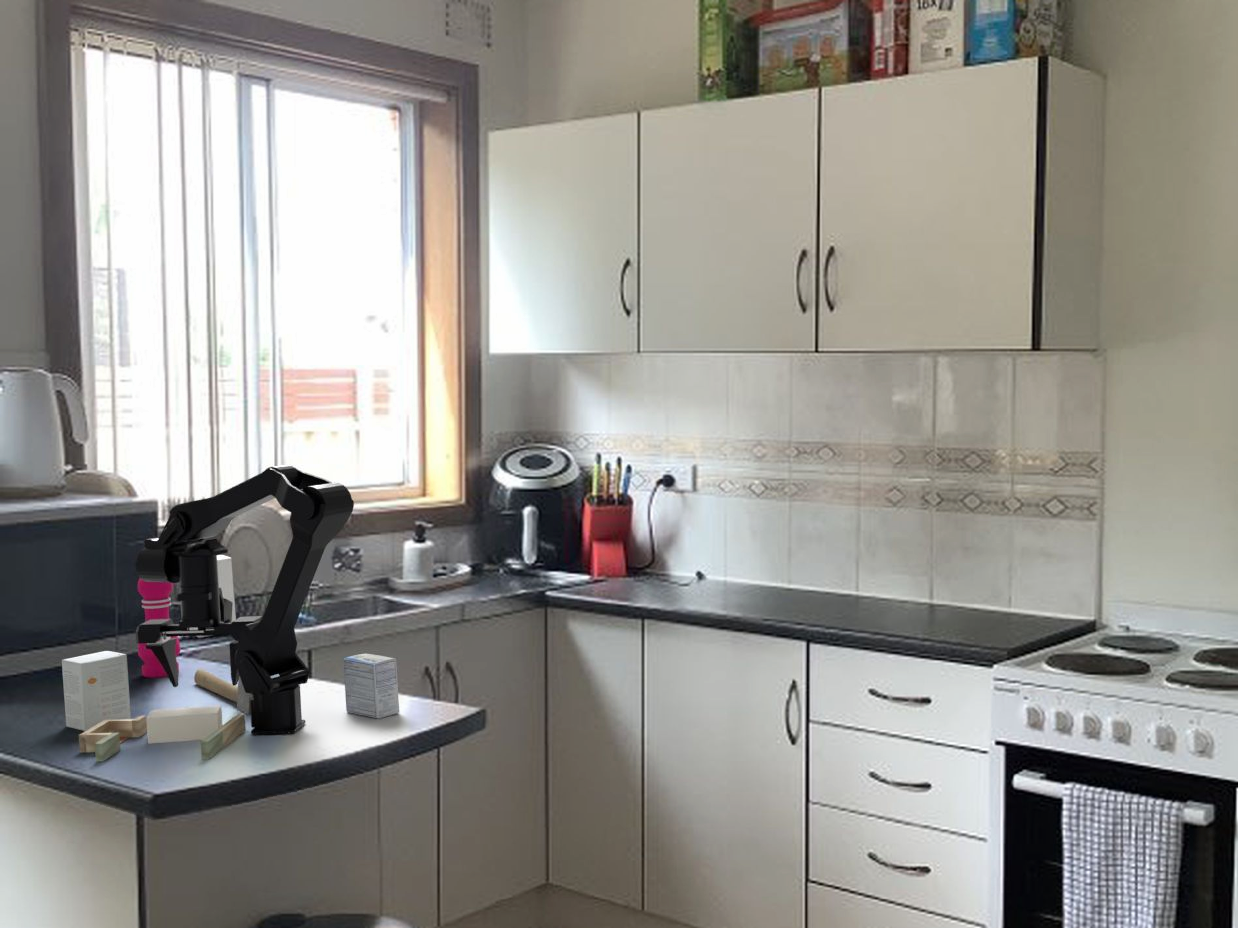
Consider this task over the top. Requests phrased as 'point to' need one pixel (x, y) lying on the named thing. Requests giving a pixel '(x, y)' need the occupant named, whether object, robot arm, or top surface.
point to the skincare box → (224, 583)
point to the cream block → (183, 723)
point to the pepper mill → (155, 608)
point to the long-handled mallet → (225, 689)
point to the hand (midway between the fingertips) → (205, 685)
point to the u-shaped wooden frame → (115, 731)
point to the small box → (95, 689)
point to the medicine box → (371, 685)
